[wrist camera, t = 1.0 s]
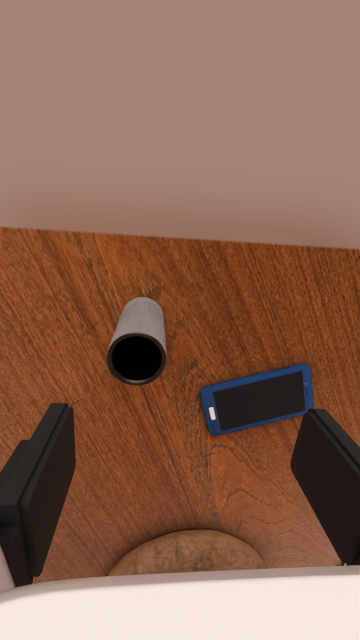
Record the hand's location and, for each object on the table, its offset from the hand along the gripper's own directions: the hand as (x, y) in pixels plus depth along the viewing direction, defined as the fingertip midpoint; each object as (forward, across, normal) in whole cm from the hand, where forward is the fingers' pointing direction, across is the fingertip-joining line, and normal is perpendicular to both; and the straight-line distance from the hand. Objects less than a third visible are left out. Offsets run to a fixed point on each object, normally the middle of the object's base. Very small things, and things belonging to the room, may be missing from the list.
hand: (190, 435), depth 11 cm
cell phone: (+20, -12, +12) cm, 27 cm away
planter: (+21, +3, +2) cm, 21 cm away
